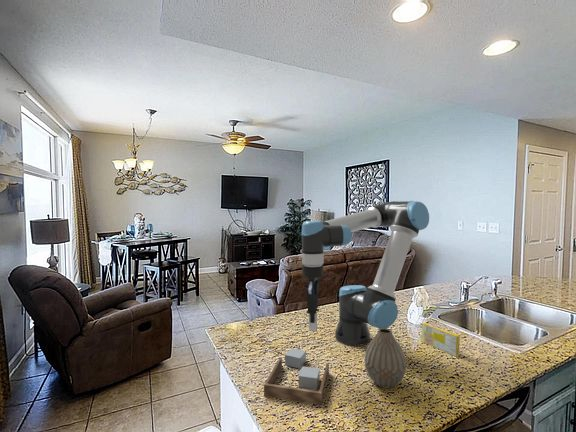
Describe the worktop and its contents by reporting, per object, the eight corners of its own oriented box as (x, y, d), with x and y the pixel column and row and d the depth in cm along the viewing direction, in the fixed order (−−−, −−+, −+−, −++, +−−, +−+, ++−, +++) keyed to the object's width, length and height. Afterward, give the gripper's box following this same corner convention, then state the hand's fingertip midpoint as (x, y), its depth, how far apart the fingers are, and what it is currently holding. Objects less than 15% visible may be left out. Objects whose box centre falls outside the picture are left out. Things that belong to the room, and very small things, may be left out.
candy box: (459, 356, 120) (460, 335, 120) (456, 357, 119) (456, 336, 119) (424, 340, 134) (424, 321, 134) (420, 341, 133) (421, 322, 133)
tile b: (306, 361, 117) (306, 351, 117) (299, 369, 111) (299, 358, 111) (291, 358, 119) (291, 348, 119) (284, 365, 114) (284, 354, 114)
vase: (400, 399, 94) (401, 342, 93) (358, 386, 100) (359, 333, 100) (409, 378, 105) (410, 327, 104) (371, 368, 112) (371, 320, 111)
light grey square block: (319, 380, 104) (319, 368, 104) (317, 390, 98) (317, 378, 98) (302, 377, 106) (302, 366, 106) (298, 388, 100) (298, 375, 100)
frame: (328, 373, 108) (328, 363, 108) (321, 405, 91) (321, 393, 91) (279, 366, 113) (279, 357, 112) (264, 396, 95) (263, 384, 95)
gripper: (305, 261, 116) (306, 322, 117) (298, 268, 104) (298, 337, 105) (325, 261, 115) (325, 324, 116) (320, 269, 102) (321, 339, 103)
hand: (313, 330), depth 110 cm, fingers closed
